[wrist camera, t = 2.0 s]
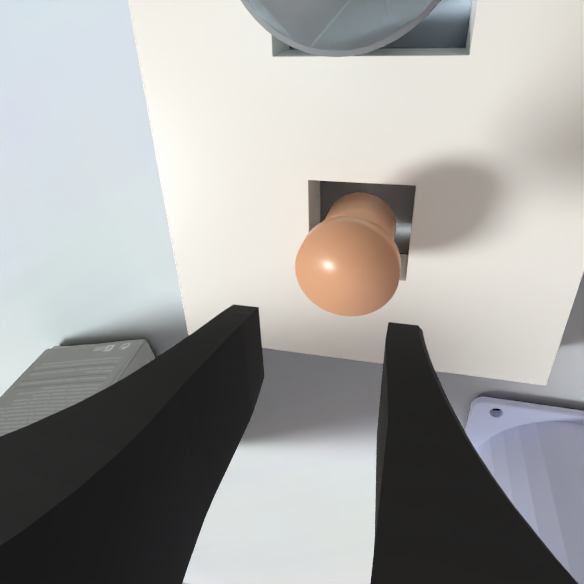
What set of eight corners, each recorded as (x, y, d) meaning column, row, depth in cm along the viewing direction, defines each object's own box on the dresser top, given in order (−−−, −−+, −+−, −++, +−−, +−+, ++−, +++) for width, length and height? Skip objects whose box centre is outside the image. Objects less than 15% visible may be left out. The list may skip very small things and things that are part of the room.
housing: (803, -537, 8) (892, -664, 7) (536, 351, 19) (546, 385, 17) (104, -374, 12) (49, -434, 10) (206, 312, 22) (188, 338, 20)
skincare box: (51, 341, 26) (-334, 695, 13) (164, 332, 24) (-169, 757, 11) (117, 450, 30) (-129, 807, 17) (219, 453, 27) (25, 871, 14)
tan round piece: (409, 185, 15) (404, 228, 13) (401, 268, 17) (394, 321, 14) (317, 181, 16) (293, 220, 13) (317, 261, 18) (296, 310, 15)
